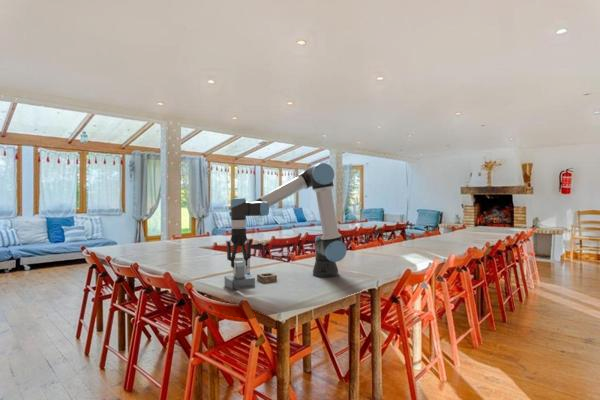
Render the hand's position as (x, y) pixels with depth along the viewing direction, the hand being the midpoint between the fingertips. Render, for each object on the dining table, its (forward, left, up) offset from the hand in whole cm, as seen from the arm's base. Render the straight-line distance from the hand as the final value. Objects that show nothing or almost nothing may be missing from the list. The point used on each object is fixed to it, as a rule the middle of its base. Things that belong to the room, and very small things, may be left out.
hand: (239, 272), depth 179 cm
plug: (0, 0, -6) cm, 6 cm away
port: (0, 0, -7) cm, 7 cm away
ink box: (-9, -20, -7) cm, 23 cm away
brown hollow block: (-16, -1, -7) cm, 18 cm away
